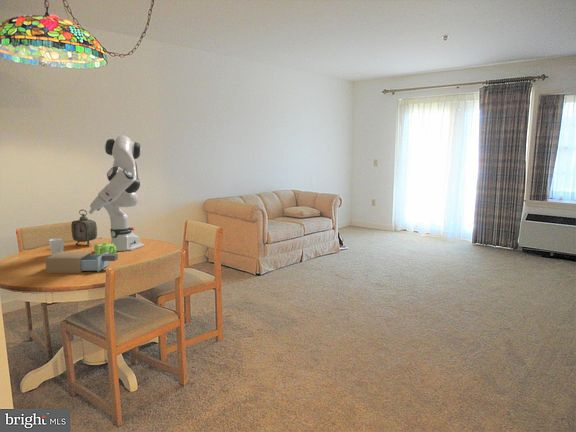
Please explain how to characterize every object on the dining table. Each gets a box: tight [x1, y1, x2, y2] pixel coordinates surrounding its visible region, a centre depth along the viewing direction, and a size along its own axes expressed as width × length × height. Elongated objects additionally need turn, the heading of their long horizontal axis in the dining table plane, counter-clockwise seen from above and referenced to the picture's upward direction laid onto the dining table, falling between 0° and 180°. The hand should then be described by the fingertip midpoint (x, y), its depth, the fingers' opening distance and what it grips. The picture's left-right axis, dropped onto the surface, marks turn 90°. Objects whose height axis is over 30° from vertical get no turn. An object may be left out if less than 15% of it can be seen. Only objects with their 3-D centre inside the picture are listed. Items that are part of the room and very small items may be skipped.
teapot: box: [93, 242, 118, 255], centre depth 245 cm, size 12×12×10 cm
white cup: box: [48, 237, 65, 256], centre depth 252 cm, size 8×8×10 cm
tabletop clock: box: [70, 209, 98, 247], centre depth 278 cm, size 14×9×25 cm, turn 68°
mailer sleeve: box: [44, 251, 92, 274], centre depth 223 cm, size 18×14×8 cm
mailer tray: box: [80, 252, 119, 273], centre depth 223 cm, size 25×14×8 cm, turn 92°
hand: (93, 211), depth 226 cm, fingers open, 8 cm apart
